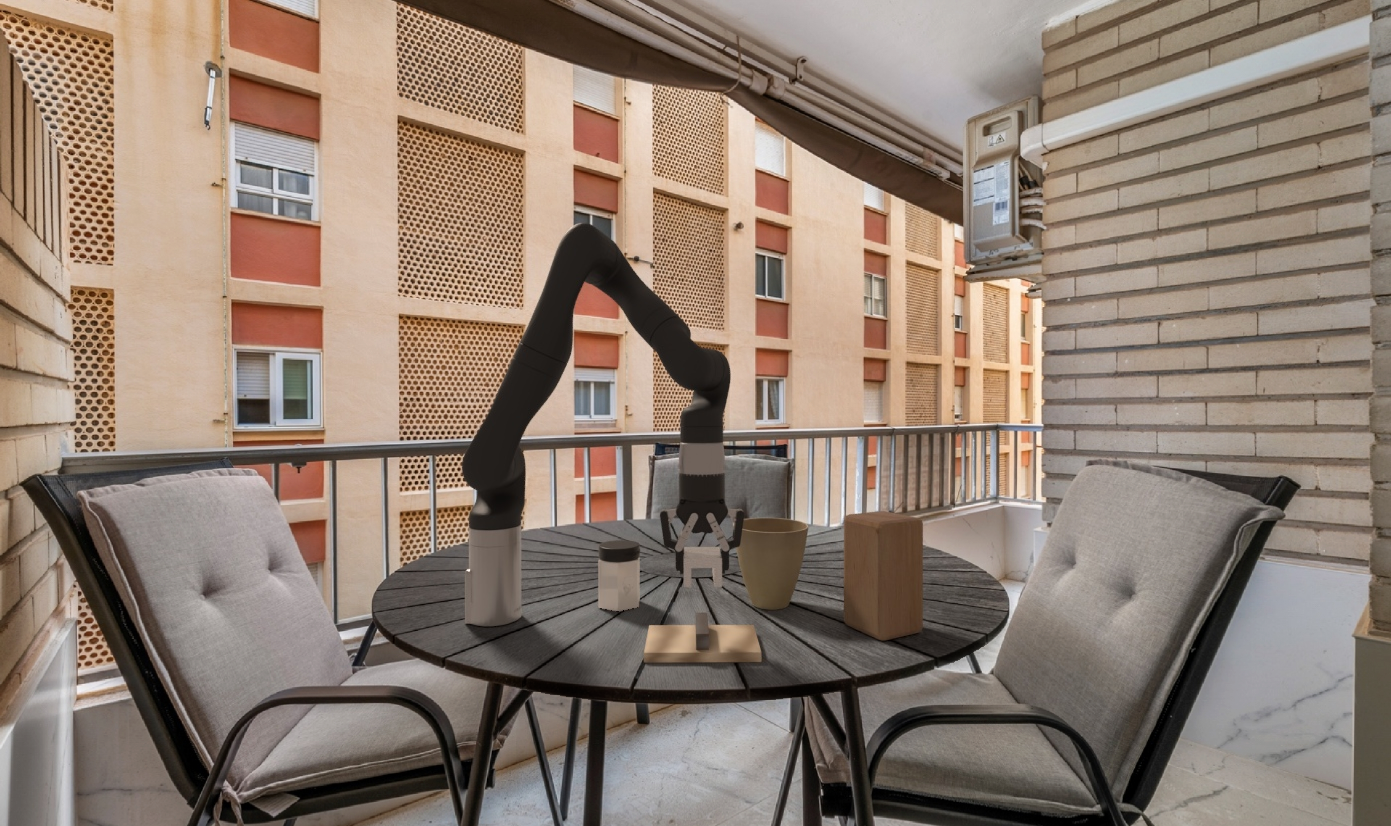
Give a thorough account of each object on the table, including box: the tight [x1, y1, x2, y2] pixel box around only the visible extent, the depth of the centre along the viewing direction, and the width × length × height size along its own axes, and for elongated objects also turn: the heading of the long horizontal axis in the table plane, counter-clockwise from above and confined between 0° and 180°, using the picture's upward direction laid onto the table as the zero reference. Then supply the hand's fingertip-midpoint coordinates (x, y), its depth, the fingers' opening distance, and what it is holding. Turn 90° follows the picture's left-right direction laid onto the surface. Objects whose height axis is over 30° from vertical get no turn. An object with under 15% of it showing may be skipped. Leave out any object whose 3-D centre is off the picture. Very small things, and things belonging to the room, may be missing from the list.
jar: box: [597, 539, 641, 612], centre depth 122 cm, size 9×8×12 cm
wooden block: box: [843, 510, 924, 642], centre depth 108 cm, size 10×10×20 cm
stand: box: [643, 612, 762, 664], centre depth 100 cm, size 18×12×4 cm, turn 90°
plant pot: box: [732, 517, 809, 611], centre depth 122 cm, size 15×15×16 cm
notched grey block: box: [683, 546, 723, 588], centre depth 100 cm, size 6×8×4 cm
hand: (702, 572), depth 100 cm, fingers closed on notched grey block, 6 cm apart
